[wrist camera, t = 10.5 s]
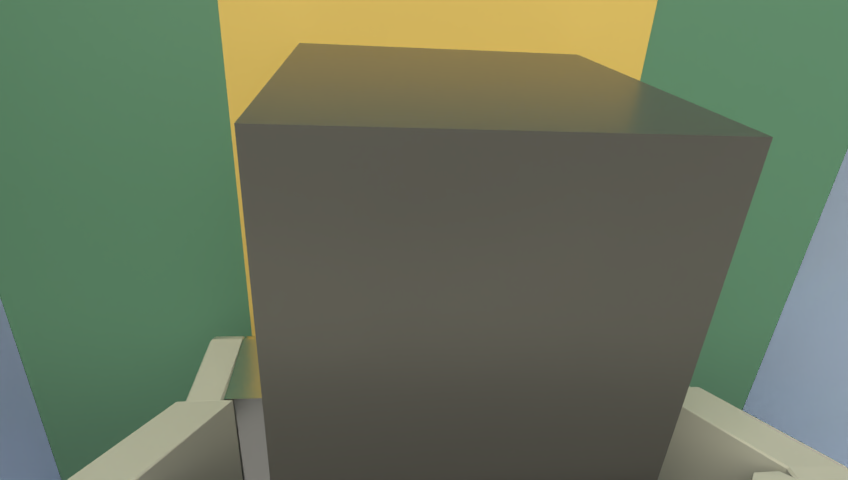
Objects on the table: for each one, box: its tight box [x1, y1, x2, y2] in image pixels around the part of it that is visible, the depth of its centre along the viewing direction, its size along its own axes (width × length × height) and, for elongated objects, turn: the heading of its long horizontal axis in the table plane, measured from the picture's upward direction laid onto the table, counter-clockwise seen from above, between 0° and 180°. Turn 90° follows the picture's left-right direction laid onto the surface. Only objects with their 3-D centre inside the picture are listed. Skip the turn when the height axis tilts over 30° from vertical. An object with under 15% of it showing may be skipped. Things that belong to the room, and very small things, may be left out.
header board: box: [0, 0, 848, 480], centre depth 11 cm, size 16×20×5 cm
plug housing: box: [234, 43, 773, 480], centre depth 9 cm, size 5×11×5 cm, turn 177°
